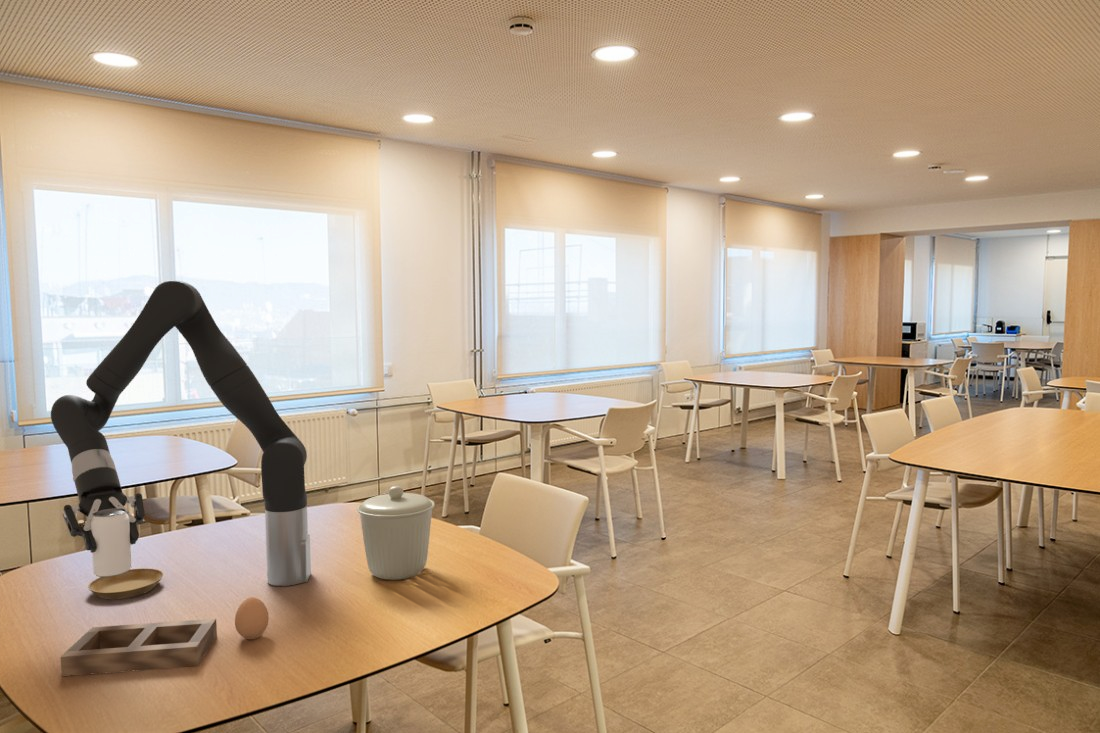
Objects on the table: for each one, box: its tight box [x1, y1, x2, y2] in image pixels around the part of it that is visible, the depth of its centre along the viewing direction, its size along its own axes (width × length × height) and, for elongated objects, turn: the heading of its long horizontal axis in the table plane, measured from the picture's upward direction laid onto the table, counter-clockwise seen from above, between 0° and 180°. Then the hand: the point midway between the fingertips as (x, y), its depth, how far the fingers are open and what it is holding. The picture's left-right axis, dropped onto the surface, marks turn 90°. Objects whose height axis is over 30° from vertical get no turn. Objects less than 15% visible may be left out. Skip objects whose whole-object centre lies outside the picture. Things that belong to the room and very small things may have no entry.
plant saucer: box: [87, 567, 164, 600], centre depth 165 cm, size 15×15×3 cm
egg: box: [234, 596, 270, 640], centre depth 140 cm, size 6×6×8 cm
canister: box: [356, 485, 436, 581], centre depth 174 cm, size 18×18×21 cm
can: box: [91, 508, 132, 578], centre depth 144 cm, size 6×6×12 cm
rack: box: [59, 618, 218, 677], centre depth 133 cm, size 22×12×4 cm, turn 99°
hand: (114, 545), depth 143 cm, fingers closed on can, 6 cm apart
